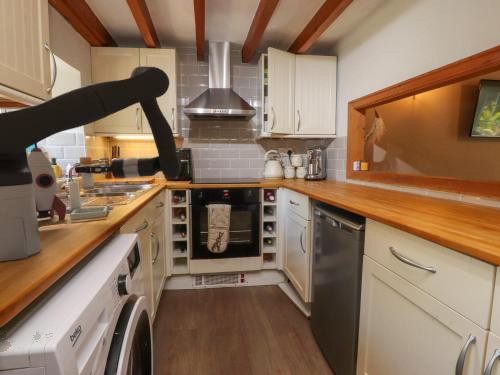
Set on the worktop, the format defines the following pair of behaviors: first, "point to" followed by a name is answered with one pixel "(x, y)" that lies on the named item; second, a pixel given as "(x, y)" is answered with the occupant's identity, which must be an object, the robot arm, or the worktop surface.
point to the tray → (89, 213)
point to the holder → (68, 210)
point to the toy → (44, 185)
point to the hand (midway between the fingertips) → (78, 169)
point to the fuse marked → (87, 178)
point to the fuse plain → (74, 195)
